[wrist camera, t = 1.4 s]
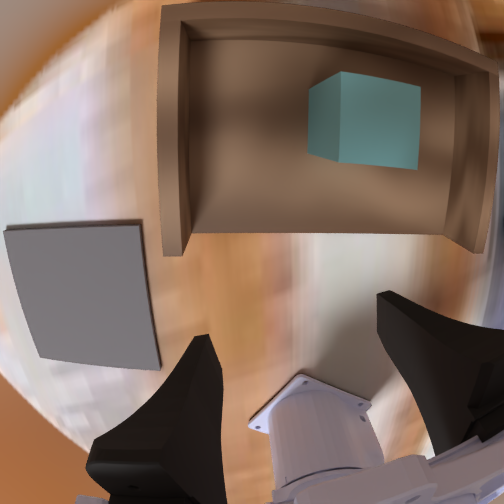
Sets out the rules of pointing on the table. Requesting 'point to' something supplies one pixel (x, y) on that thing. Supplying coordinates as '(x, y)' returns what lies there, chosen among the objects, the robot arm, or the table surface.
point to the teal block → (365, 121)
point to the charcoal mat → (85, 294)
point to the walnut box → (296, 126)
